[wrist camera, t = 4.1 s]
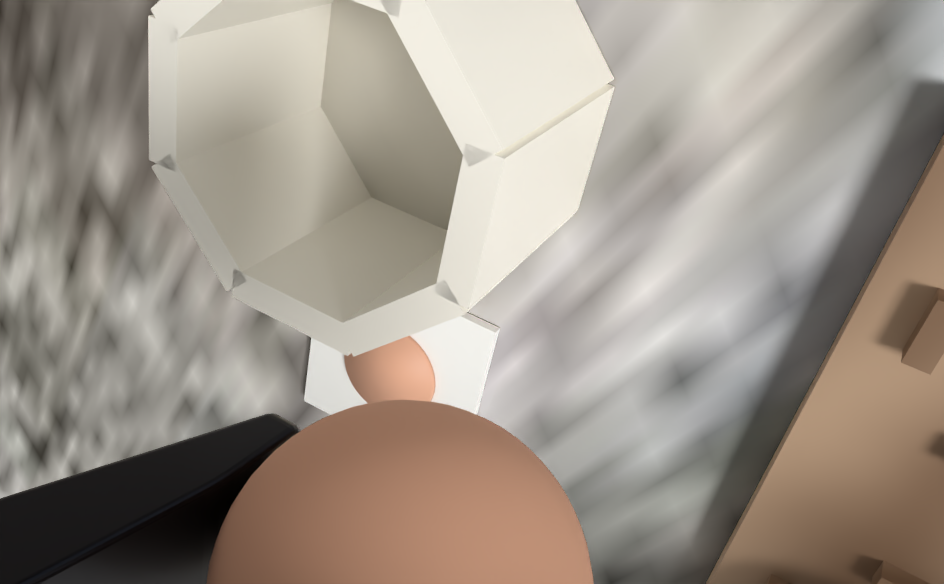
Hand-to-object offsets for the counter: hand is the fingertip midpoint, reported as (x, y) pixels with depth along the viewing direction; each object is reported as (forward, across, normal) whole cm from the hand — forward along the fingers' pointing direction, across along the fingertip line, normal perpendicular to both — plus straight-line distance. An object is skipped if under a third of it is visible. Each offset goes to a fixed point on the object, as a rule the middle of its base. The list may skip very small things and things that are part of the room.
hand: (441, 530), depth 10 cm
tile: (+13, +6, +9) cm, 17 cm away
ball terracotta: (-1, 0, 0) cm, 1 cm away
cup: (+13, +7, 0) cm, 15 cm away
